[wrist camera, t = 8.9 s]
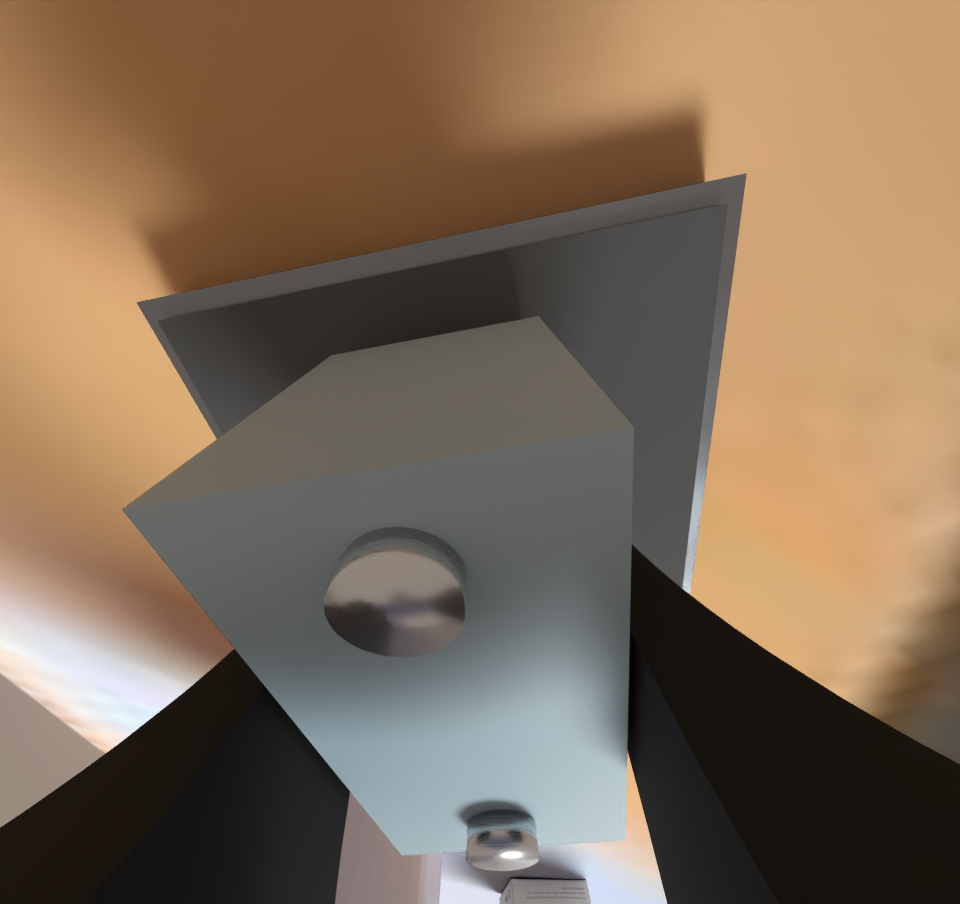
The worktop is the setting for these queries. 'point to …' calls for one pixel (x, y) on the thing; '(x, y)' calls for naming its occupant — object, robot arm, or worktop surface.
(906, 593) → the worktop surface
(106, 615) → the worktop surface
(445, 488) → the block
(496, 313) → the shallow gray tray
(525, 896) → the skincare box
